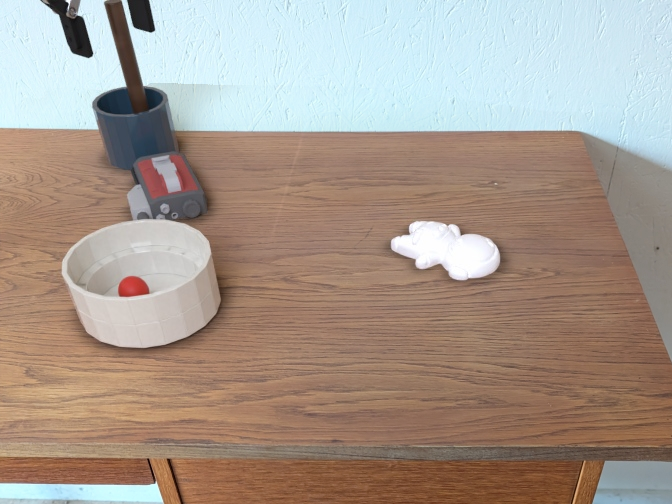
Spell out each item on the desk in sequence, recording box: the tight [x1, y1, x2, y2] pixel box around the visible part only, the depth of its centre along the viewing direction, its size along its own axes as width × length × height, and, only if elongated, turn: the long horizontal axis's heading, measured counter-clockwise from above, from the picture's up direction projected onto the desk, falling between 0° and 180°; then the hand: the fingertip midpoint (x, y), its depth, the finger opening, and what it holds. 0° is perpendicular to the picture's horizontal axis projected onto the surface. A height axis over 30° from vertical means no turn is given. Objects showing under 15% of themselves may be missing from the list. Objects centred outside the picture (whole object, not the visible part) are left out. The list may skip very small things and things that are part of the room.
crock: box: [91, 85, 180, 171], centre depth 93 cm, size 9×9×7 cm
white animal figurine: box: [390, 220, 501, 281], centre depth 79 cm, size 9×12×3 cm
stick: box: [103, 0, 149, 114], centre depth 88 cm, size 2×2×17 cm
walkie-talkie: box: [126, 151, 209, 221], centre depth 85 cm, size 9×4×20 cm
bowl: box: [61, 219, 222, 349], centre depth 72 cm, size 14×14×6 cm
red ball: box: [118, 276, 150, 297], centre depth 73 cm, size 3×3×3 cm
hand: (114, 42), depth 85 cm, fingers open, 9 cm apart
